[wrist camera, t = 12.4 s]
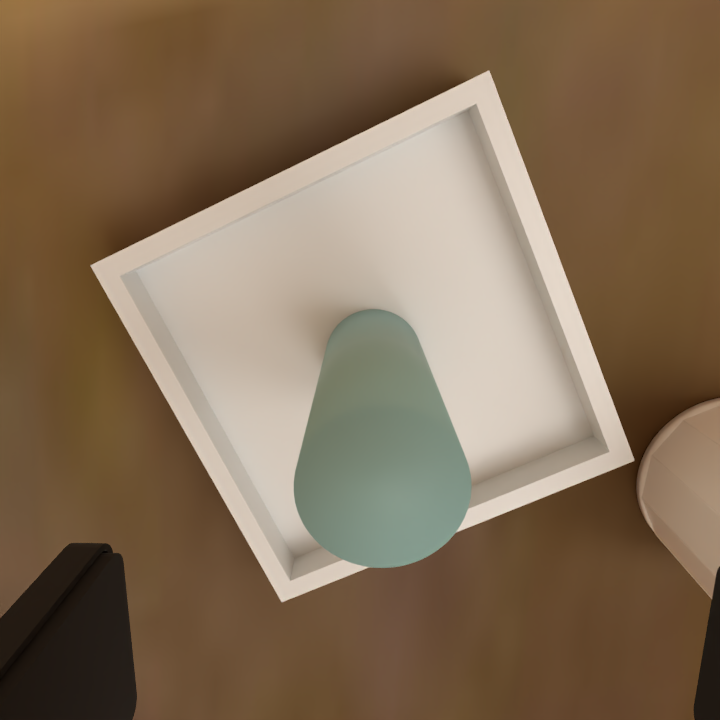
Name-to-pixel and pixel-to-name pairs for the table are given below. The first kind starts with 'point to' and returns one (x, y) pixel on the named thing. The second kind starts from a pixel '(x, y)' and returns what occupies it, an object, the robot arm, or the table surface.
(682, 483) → the cup
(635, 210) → the table surface
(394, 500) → the peg
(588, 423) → the tray
